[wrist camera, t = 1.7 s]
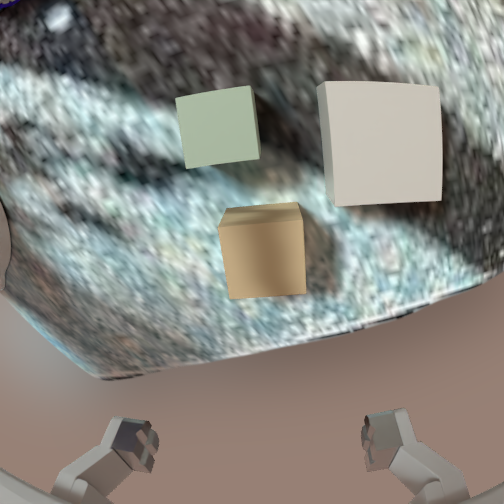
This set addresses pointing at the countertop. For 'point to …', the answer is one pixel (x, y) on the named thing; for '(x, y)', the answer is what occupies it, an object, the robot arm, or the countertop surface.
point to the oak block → (263, 250)
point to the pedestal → (380, 142)
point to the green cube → (219, 127)
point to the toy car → (7, 3)
